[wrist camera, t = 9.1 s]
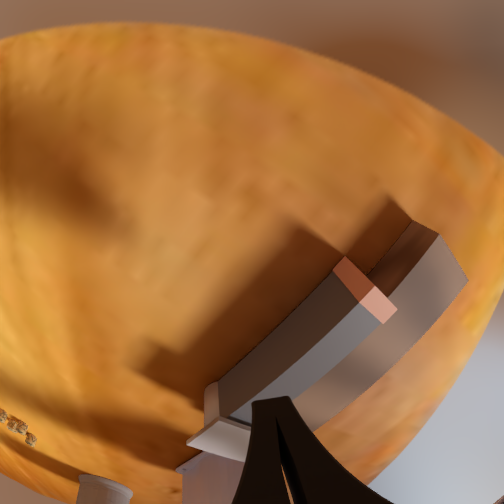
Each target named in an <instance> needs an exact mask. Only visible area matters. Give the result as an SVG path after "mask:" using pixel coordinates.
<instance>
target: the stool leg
mask: <svg viewBox="0 0 504 504" xmlns="http://www.w3.org/2000/svg"><path fill="white" fill-rule="evenodd" d="M332 270H333V271H332V272H331V273H330V274H329V275H328V277H327V278H326V279H325V280H324V281H323V282H322V283H321V284H320V285H319V286H318V287H317V288H316V289H315V290H314V291H313V292H312V293H311V294H310V295H309V296H308V297H307V298H306V299H305V300H304V301H303V302H302V303H301V304H300V305H299V306H298V307H297V308H296V309H295V310H294V311H293V312H292V313H291V314H290V315H289V316H288V317H287V318H286V319H285V320H284V321H283V322H282V323H281V324H280V325H279V326H278V327H277V328H276V329H275V330H274V331H273V332H271V333H270V334H269V335H268V336H267V337H266V338H265V339H264V340H263V341H262V342H261V343H260V344H259V345H258V346H257V347H256V348H254V349H253V350H252V351H251V352H250V353H249V354H248V355H247V356H246V357H245V358H244V359H242V360H241V361H240V362H239V363H238V364H237V365H236V366H235V367H234V368H232V369H231V370H230V371H229V372H228V373H227V374H226V375H225V376H223V377H222V378H221V379H220V380H219V381H217V382H214V383H211V384H210V385H208V386H207V387H206V388H205V390H204V427H205V426H206V425H208V424H209V423H210V422H211V421H213V420H214V419H215V418H216V417H218V416H221V417H224V418H226V419H229V420H232V421H235V422H237V423H240V424H243V425H246V426H249V427H251V424H252V406H251V403H252V402H253V401H255V400H262V399H269V398H275V397H281V396H289V397H290V398H291V400H292V401H293V400H294V399H295V398H297V397H298V396H299V395H300V394H302V393H303V392H304V391H306V390H307V389H308V388H309V387H311V386H312V385H313V384H314V383H315V382H317V381H318V380H319V379H320V378H322V377H323V376H324V375H325V374H326V373H328V372H329V371H330V370H331V369H332V368H333V367H335V366H336V365H337V364H338V363H339V362H340V361H341V360H343V359H344V358H345V357H346V356H347V355H348V354H349V353H350V352H351V351H353V350H354V349H355V348H356V347H357V346H358V345H359V344H360V343H361V342H362V341H363V340H364V339H365V338H366V337H367V336H369V335H370V334H371V333H372V332H373V331H374V330H375V329H376V328H377V327H378V326H379V325H380V324H381V323H382V324H384V323H385V322H386V321H387V320H388V319H389V318H390V317H391V316H392V315H393V314H394V313H395V312H396V311H397V310H398V309H397V308H396V307H395V306H394V305H393V304H392V303H391V302H390V301H389V299H388V298H387V297H386V296H385V295H384V294H383V293H382V292H381V291H380V290H379V289H378V288H377V287H376V286H375V285H374V284H373V283H372V282H371V281H370V280H369V279H368V278H367V277H366V276H365V275H364V274H363V273H362V272H361V271H360V270H359V269H358V268H357V267H356V266H355V265H354V264H353V263H352V262H351V261H350V260H349V259H348V258H347V257H346V256H345V257H344V258H343V259H342V260H341V261H340V262H339V263H338V264H337V265H336V266H335V267H334V268H333V269H332Z"/></svg>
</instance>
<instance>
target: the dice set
mask: <svg viewBox="0 0 504 504" xmlns="http://www.w3.org/2000/svg"><path fill="white" fill-rule="evenodd" d="M7 416H8V414H7V413H6V412H5V411H4V410H3V409H0V422H2V423H4V422H5V420H6V418H7ZM7 428H8V429H9V430H11V431H12V432H15V433H18V432H19V433H20V434H22V435H25V434H26V431H27V429H28V425H27V424H26V423H24V422H23V421H20V420H19V422H18V424H17V423H16V422H15V421H14V420H12V419H9V422H8V424H7ZM36 441H37V438H36V437H35V436H34V435H33V434H31V433H28V435H27V437H26V440H25V442H26V443H27V444H29V445H30V446H33V447H34V446H35V443H36Z"/></svg>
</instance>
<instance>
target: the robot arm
mask: <svg viewBox="0 0 504 504" xmlns="http://www.w3.org/2000/svg"><path fill="white" fill-rule="evenodd" d="M251 406H252V424H251V433H250V439H249V445H248V451H247V456H246V460H245V462H242V461H238V460H234V459H230V458H226V457H223V456H219V455H216V454H213V453H209V452H206V451H203V452H201V453H200V454H198V455H197V456H195V457H194V458H192V459H191V460H189V461H187V462H186V463H184V464H183V465H181V466H179V467H178V468H176V472H177V473H180V474H183V479H182V504H291V503H290V500H289V496H288V492H287V488H286V484H285V480H284V476H283V472H282V467H283V471H284V474H285V477H286V480H287V483H288V486H289V489H290V492H291V494H292V498H293V501H294V504H394V503H392V502H390V501H388V500H387V499H385V498H383V497H382V496H380V495H379V494H377V493H376V492H374V491H373V490H371V489H370V488H368V487H367V486H366V485H364V484H363V483H362V482H361V481H359V480H358V479H357V478H356V477H354V476H353V475H352V474H351V473H350V472H349V471H347V470H346V469H345V468H344V467H343V466H342V465H341V464H340V463H339V462H338V461H337V460H336V459H335V458H334V457H333V456H332V455H331V454H330V453H329V452H328V451H327V450H326V448H325V447H324V446H323V445H322V444H321V443H320V441H319V440H318V439H317V438H316V436H315V435H314V434H313V433H312V431H311V430H310V429H309V427H308V426H307V425H306V423H305V422H304V420H303V419H302V417H301V416H300V414H299V412H298V411H297V409H296V407H295V406H294V404H293V402H292V400H291V398H290V397H289V396H281V397H275V398H269V399H262V400H255V401H253V402H252V403H251ZM281 464H282V466H281ZM494 504H504V496H502V497H501V498H500V499H499V500H497V501H496V502H495V503H494Z"/></svg>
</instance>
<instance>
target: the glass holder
mask: <svg viewBox="0 0 504 504" xmlns="http://www.w3.org/2000/svg"><path fill="white" fill-rule="evenodd" d="M79 482H80V486H79V491H78V496H77V501H76V504H129V500H130V498H131V497H132V495H133V492H132V491H131V490H130V489H129V488H127V487H126V486H124V485H122V484H120V483H117V482H115V481H112V480H109V479H106V478H103V477H100V476H95V475H90V474H81V475H79Z"/></svg>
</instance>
